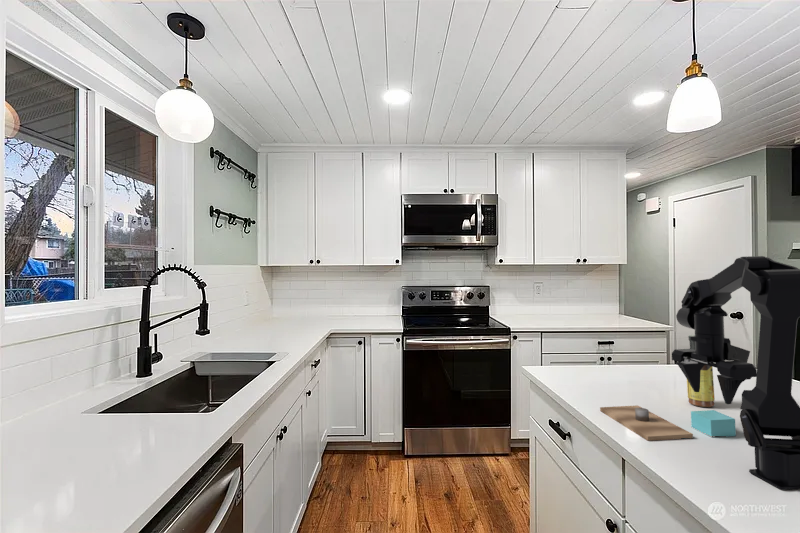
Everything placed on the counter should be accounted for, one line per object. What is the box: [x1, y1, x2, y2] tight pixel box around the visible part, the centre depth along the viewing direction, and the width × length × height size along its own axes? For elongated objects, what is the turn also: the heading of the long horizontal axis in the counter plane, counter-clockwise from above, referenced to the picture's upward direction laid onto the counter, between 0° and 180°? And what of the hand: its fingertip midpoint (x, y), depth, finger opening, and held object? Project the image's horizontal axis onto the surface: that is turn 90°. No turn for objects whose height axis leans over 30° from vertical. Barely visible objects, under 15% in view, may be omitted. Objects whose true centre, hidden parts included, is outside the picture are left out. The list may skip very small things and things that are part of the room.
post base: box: [599, 404, 694, 442], centre depth 103 cm, size 20×11×4 cm, turn 3°
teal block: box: [690, 409, 737, 437], centre depth 97 cm, size 6×6×4 cm
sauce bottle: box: [686, 334, 715, 408], centre depth 116 cm, size 6×6×20 cm
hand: (711, 397), depth 97 cm, fingers open, 9 cm apart
